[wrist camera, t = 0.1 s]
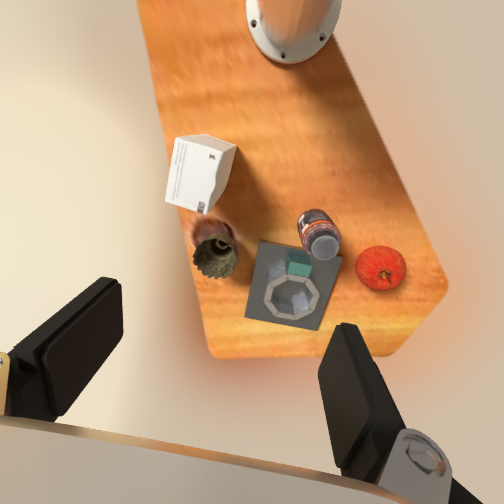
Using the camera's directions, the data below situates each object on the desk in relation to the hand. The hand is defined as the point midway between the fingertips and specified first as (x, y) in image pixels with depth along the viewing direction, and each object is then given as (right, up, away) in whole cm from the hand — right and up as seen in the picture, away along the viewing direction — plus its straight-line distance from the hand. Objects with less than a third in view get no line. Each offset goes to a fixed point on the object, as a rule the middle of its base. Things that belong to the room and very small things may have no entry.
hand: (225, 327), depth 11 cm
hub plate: (+9, -4, +41) cm, 42 cm away
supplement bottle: (+12, +9, +36) cm, 39 cm away
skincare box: (-5, +18, +33) cm, 38 cm away
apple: (+24, +2, +38) cm, 45 cm away
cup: (-5, +5, +38) cm, 39 cm away
